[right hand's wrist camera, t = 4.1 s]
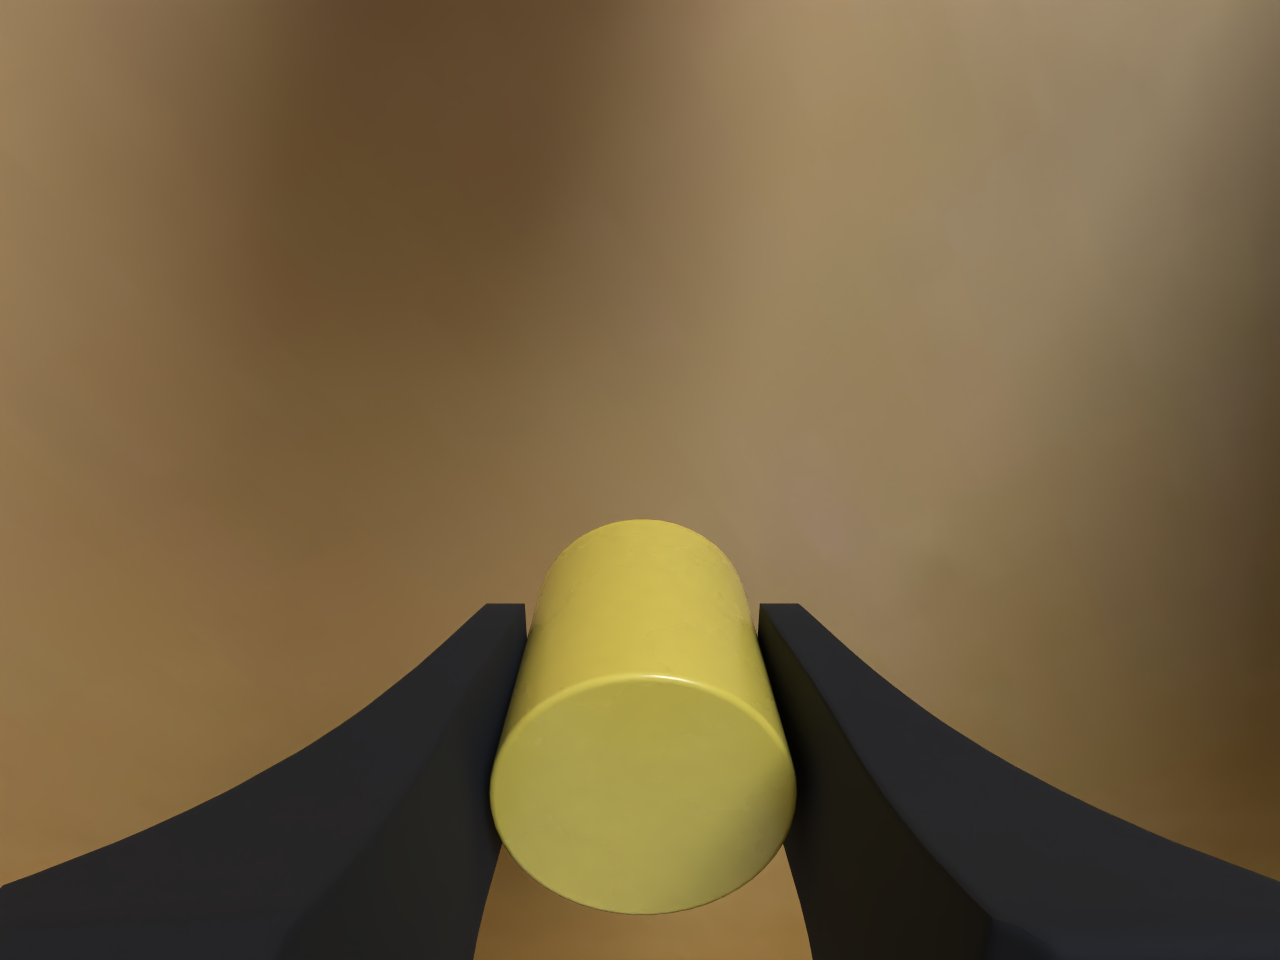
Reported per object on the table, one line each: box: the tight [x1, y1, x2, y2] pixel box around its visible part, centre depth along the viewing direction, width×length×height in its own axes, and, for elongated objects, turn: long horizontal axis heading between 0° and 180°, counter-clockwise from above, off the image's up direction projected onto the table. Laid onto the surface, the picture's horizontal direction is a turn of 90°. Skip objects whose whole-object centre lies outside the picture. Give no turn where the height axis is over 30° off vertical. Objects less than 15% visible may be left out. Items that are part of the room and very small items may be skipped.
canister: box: [489, 519, 797, 915], centre depth 11 cm, size 4×4×4 cm
